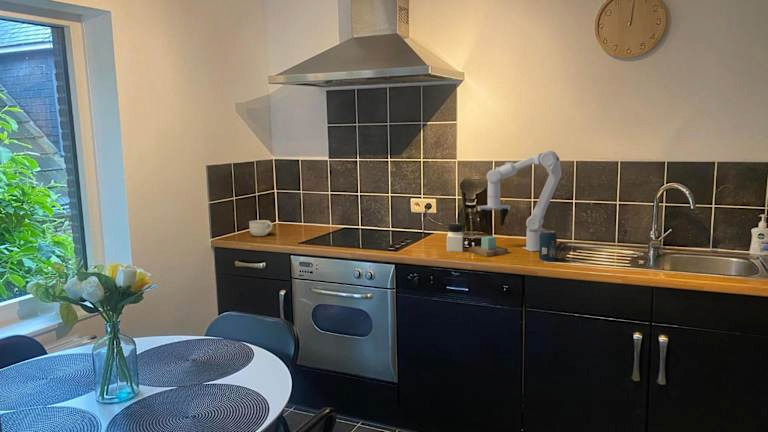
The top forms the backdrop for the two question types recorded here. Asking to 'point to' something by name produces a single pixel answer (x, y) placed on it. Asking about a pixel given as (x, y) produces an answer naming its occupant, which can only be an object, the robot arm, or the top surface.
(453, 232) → the medicine bottle
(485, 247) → the teal block
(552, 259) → the soda can
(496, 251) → the walnut base
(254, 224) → the teacup
